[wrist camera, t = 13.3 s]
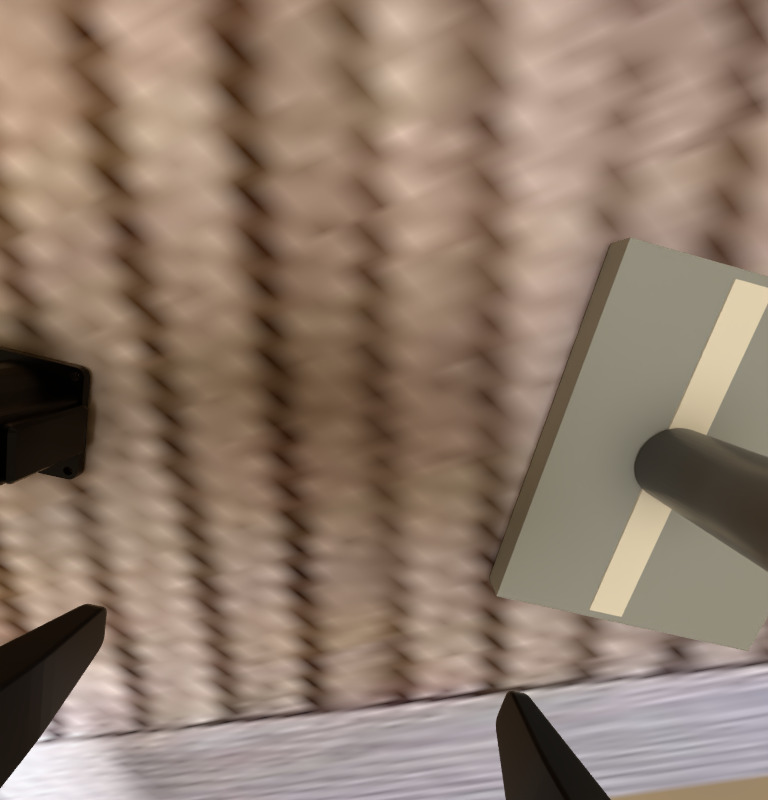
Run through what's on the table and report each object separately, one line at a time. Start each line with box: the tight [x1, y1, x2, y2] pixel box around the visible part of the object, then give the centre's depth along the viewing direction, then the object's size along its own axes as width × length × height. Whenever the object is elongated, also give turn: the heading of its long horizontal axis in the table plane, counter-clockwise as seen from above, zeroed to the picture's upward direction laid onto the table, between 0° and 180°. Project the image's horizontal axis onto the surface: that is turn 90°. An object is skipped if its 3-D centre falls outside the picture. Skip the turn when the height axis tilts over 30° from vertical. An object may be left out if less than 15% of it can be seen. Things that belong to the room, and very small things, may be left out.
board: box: [489, 238, 768, 651], centre depth 20 cm, size 16×20×2 cm
